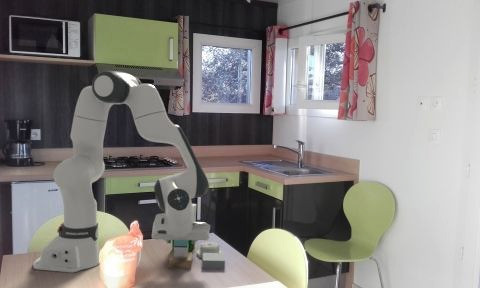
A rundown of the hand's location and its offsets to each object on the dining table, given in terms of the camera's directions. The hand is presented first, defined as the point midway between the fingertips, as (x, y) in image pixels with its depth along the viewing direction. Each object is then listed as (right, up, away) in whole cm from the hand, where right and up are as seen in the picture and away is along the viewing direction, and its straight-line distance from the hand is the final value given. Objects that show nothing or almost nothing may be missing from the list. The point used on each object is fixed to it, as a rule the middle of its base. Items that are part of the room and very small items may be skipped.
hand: (181, 241), depth 158 cm
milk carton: (-1, -7, +17) cm, 18 cm away
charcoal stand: (+12, -9, +1) cm, 15 cm away
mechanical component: (+9, -8, +11) cm, 17 cm away
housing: (0, -5, 0) cm, 5 cm away
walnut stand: (0, -8, 0) cm, 8 cm away
